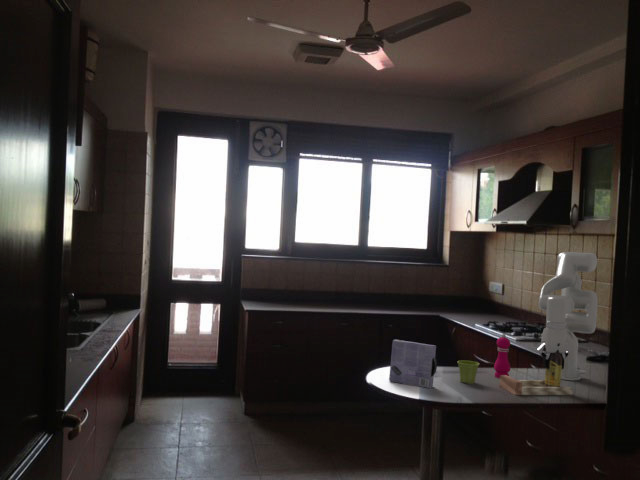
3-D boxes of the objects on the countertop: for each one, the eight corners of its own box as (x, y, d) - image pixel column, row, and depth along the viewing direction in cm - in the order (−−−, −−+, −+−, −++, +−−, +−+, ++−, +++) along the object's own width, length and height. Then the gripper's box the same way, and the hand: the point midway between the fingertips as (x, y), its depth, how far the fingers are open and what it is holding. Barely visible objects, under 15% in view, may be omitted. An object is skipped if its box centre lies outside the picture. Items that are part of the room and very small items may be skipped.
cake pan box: (436, 386, 233) (438, 344, 233) (433, 389, 228) (435, 346, 229) (392, 379, 241) (394, 338, 242) (388, 381, 237) (390, 340, 237)
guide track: (554, 387, 243) (554, 375, 243) (572, 394, 231) (572, 382, 231) (499, 386, 238) (500, 375, 238) (514, 394, 226) (515, 382, 226)
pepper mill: (497, 374, 263) (499, 332, 263) (512, 377, 258) (514, 334, 259) (491, 376, 257) (493, 333, 258) (506, 379, 253) (508, 335, 253)
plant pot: (452, 379, 247) (453, 360, 247) (471, 379, 250) (472, 360, 250) (462, 385, 238) (463, 364, 238) (482, 385, 240) (483, 364, 240)
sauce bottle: (541, 386, 239) (543, 340, 239) (552, 385, 241) (554, 339, 241) (552, 390, 232) (554, 343, 233) (564, 389, 235) (566, 342, 235)
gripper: (568, 324, 242) (566, 366, 242) (532, 324, 239) (530, 366, 239) (579, 327, 235) (577, 370, 235) (542, 326, 231) (540, 370, 231)
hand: (553, 367), depth 237 cm, fingers closed on sauce bottle, 6 cm apart
